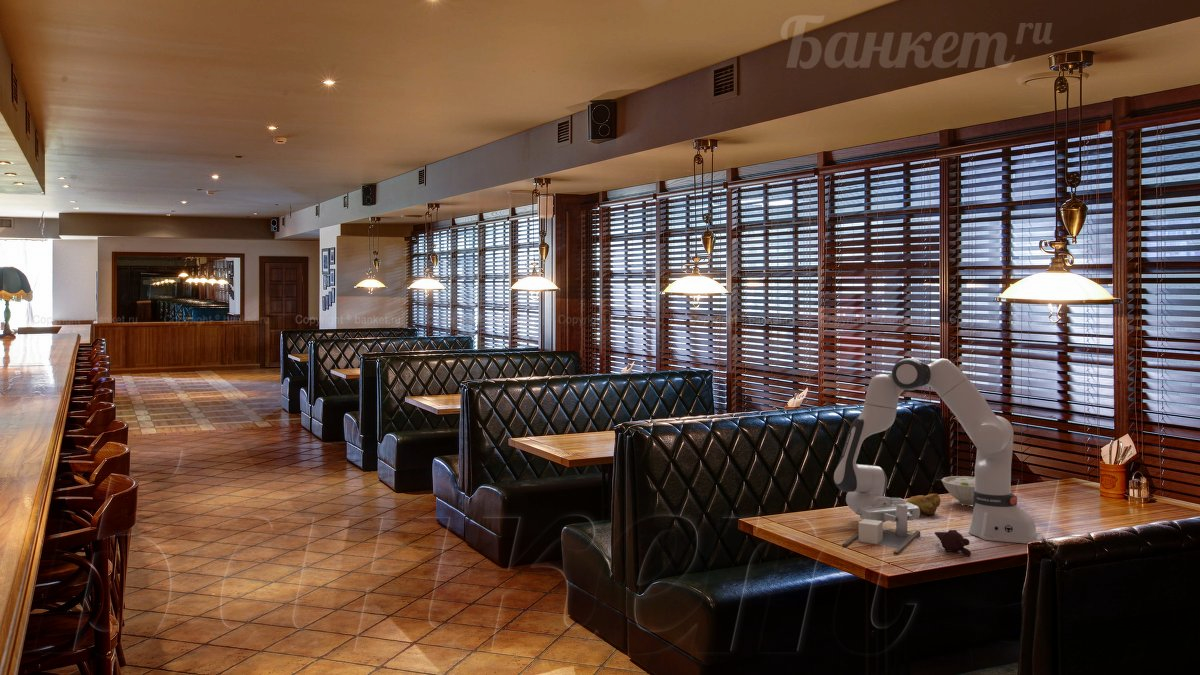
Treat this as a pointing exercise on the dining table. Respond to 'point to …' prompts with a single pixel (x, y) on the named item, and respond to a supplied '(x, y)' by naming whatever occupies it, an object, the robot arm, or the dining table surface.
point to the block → (870, 531)
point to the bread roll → (926, 503)
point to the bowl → (960, 488)
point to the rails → (897, 551)
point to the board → (890, 539)
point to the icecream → (953, 541)
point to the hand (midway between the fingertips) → (903, 518)
